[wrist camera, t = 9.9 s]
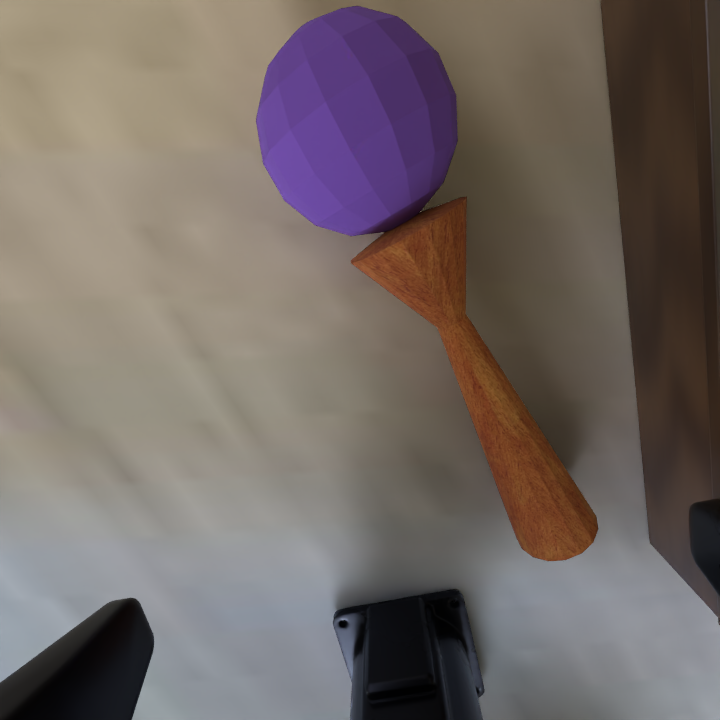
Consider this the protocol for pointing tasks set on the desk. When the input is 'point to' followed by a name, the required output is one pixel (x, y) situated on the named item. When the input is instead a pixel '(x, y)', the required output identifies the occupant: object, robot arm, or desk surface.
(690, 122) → the wooden tray
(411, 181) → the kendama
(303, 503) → the desk surface
